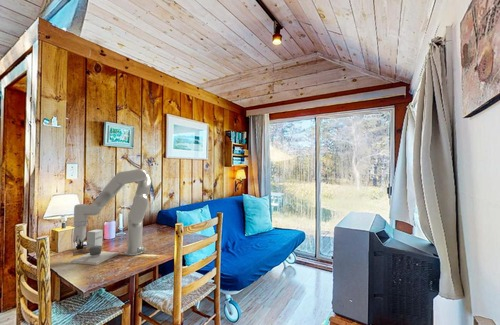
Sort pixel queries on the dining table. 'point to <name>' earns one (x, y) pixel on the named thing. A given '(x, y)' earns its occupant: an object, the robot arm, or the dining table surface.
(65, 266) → the dining table surface
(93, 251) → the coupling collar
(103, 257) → the post base
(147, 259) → the dining table surface
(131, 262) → the dining table surface
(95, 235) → the supplement box
